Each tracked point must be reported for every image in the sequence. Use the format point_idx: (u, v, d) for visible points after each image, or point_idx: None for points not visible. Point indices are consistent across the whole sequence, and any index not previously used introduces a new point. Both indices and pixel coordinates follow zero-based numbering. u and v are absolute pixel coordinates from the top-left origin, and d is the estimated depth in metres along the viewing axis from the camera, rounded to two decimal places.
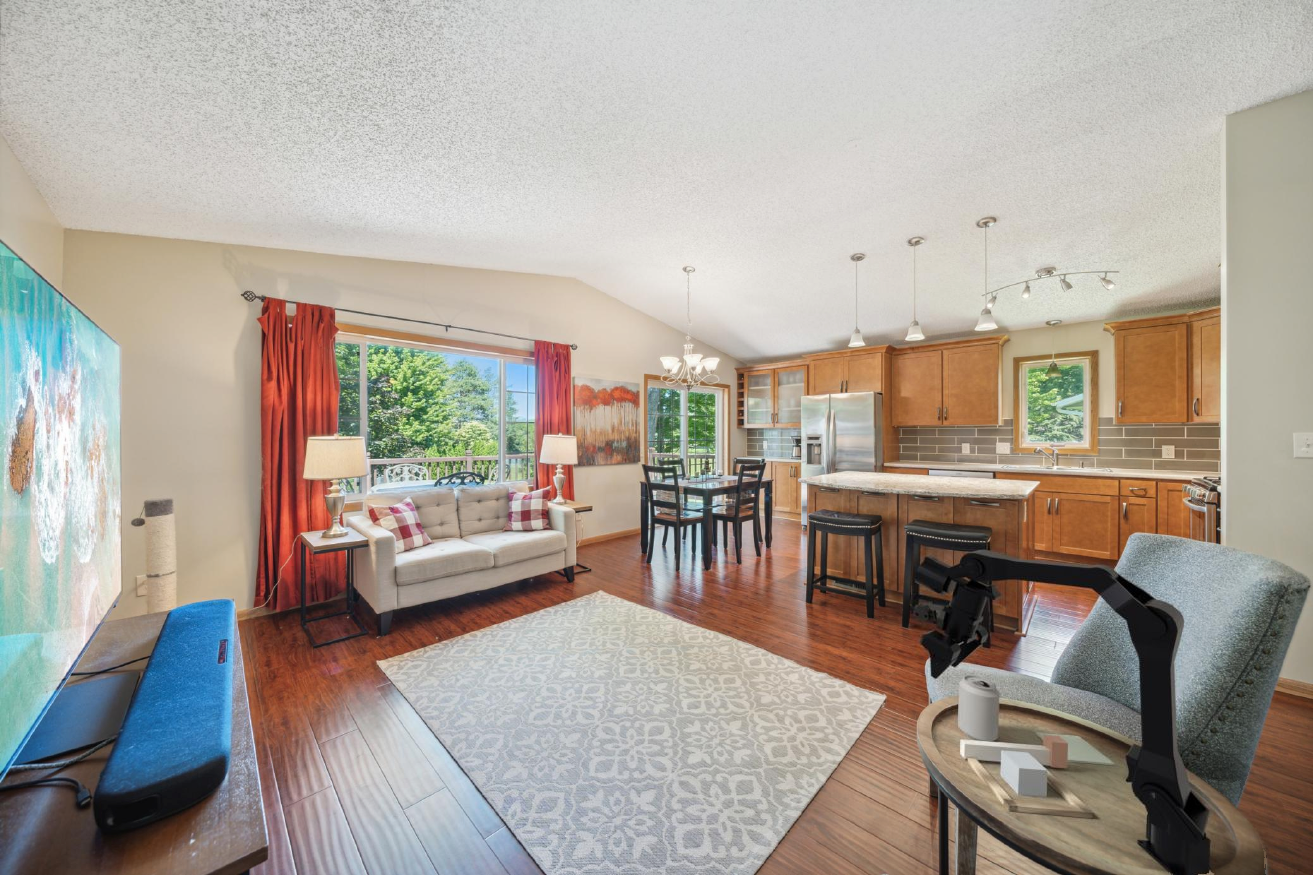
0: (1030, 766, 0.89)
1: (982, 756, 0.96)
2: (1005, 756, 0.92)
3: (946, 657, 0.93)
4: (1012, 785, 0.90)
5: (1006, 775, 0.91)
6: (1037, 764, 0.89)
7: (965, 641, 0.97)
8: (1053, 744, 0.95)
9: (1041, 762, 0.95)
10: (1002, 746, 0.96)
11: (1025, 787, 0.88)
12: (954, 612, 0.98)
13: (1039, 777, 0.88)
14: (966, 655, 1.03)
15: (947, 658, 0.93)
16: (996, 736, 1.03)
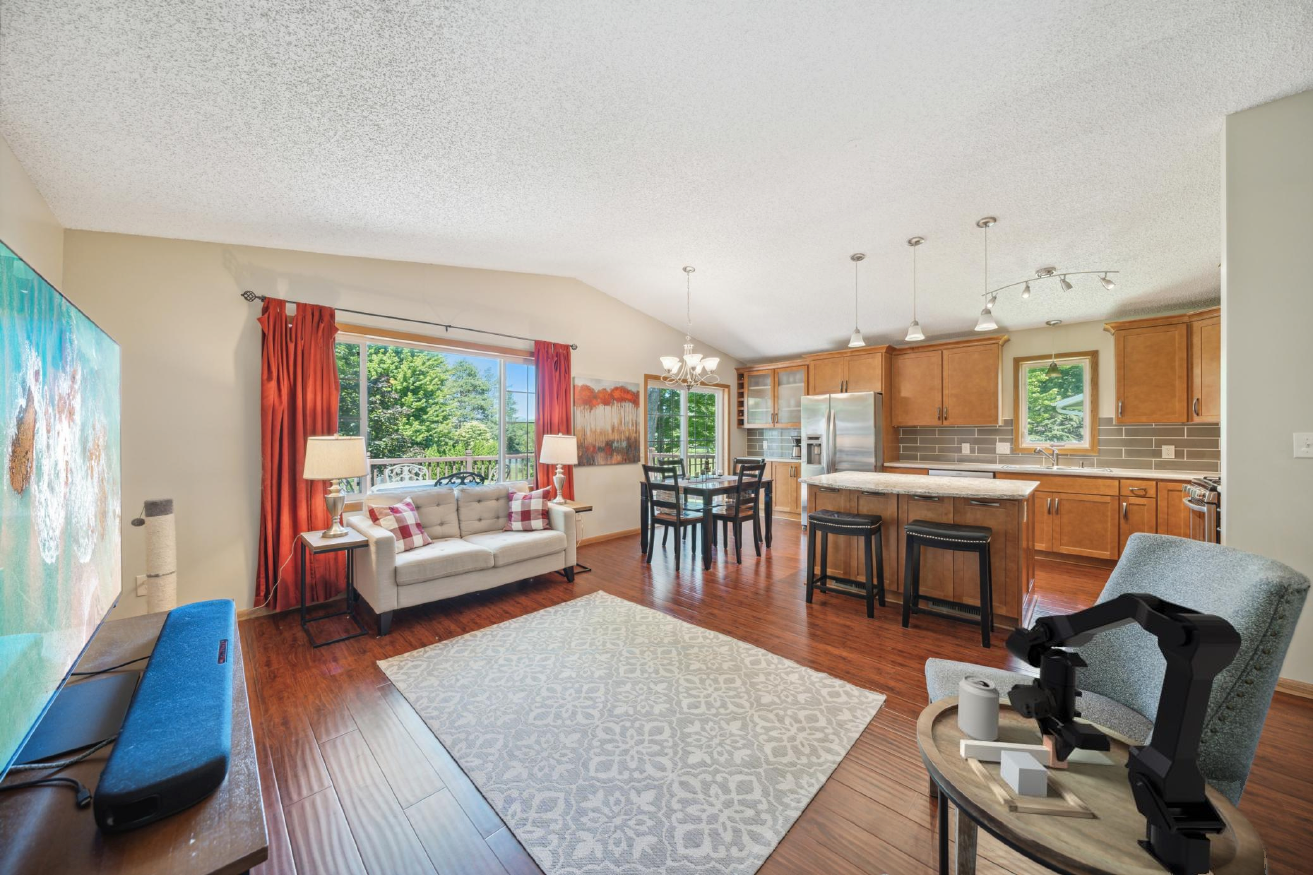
0: (1030, 766, 0.89)
1: (982, 756, 0.96)
2: (1005, 756, 0.92)
3: (1109, 748, 0.86)
4: (1012, 785, 0.90)
5: (1006, 775, 0.91)
6: (1037, 764, 0.89)
7: (1079, 716, 0.93)
8: (1053, 744, 0.95)
9: (1041, 762, 0.95)
10: (1002, 746, 0.96)
11: (1025, 787, 0.88)
12: (1064, 691, 0.93)
13: (1039, 777, 0.88)
14: None
15: (1109, 749, 0.87)
16: (996, 736, 1.03)
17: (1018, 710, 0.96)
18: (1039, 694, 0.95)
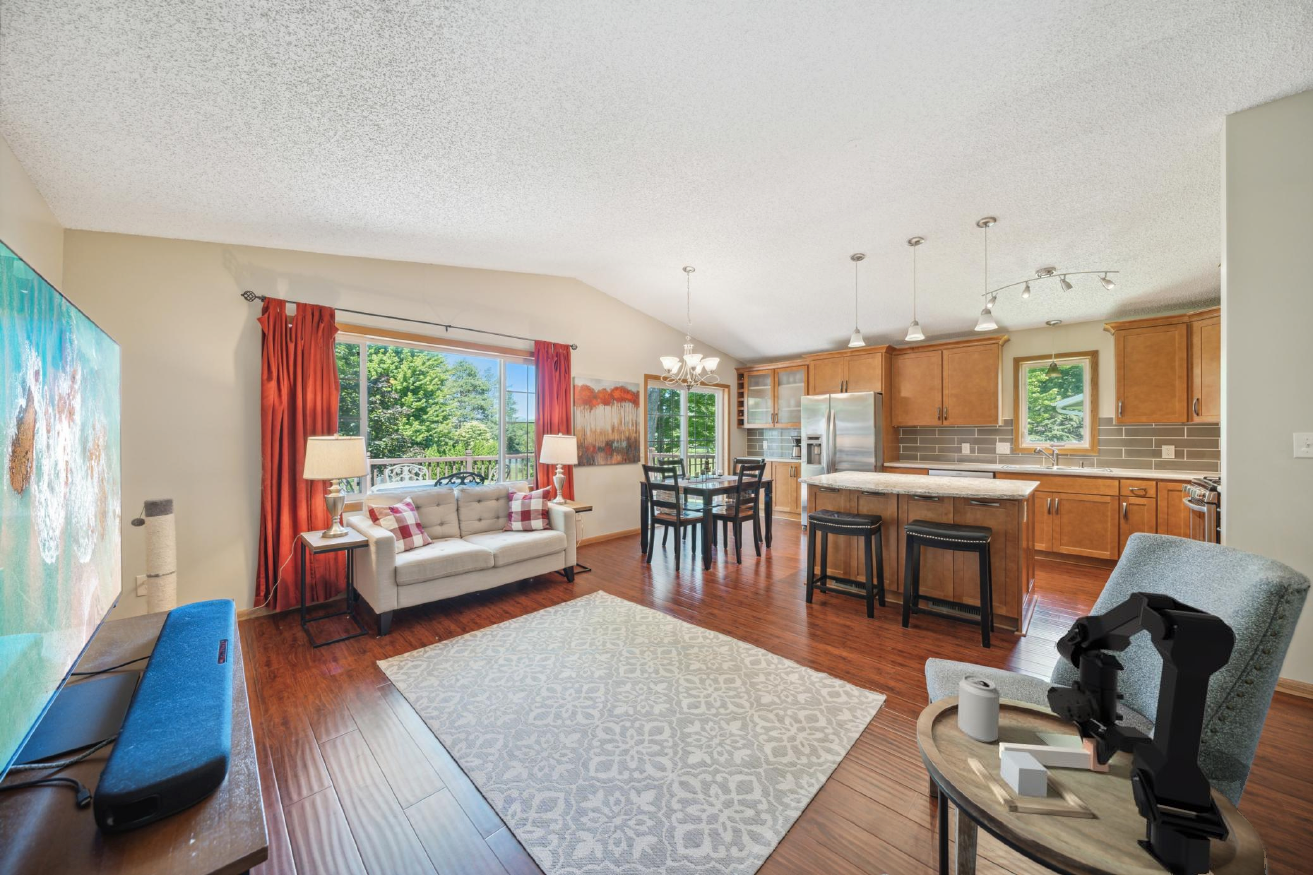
0: (1030, 766, 0.89)
1: None
2: (1005, 756, 0.92)
3: None
4: (1012, 785, 0.90)
5: (1006, 775, 0.91)
6: (1037, 764, 0.89)
7: (1121, 719, 0.93)
8: (1094, 747, 0.94)
9: (1082, 765, 0.95)
10: (1042, 749, 0.96)
11: (1025, 787, 0.88)
12: (1106, 694, 0.93)
13: (1039, 777, 0.88)
14: None
15: None
16: (996, 736, 1.03)
17: (1059, 713, 0.95)
18: (1080, 697, 0.95)
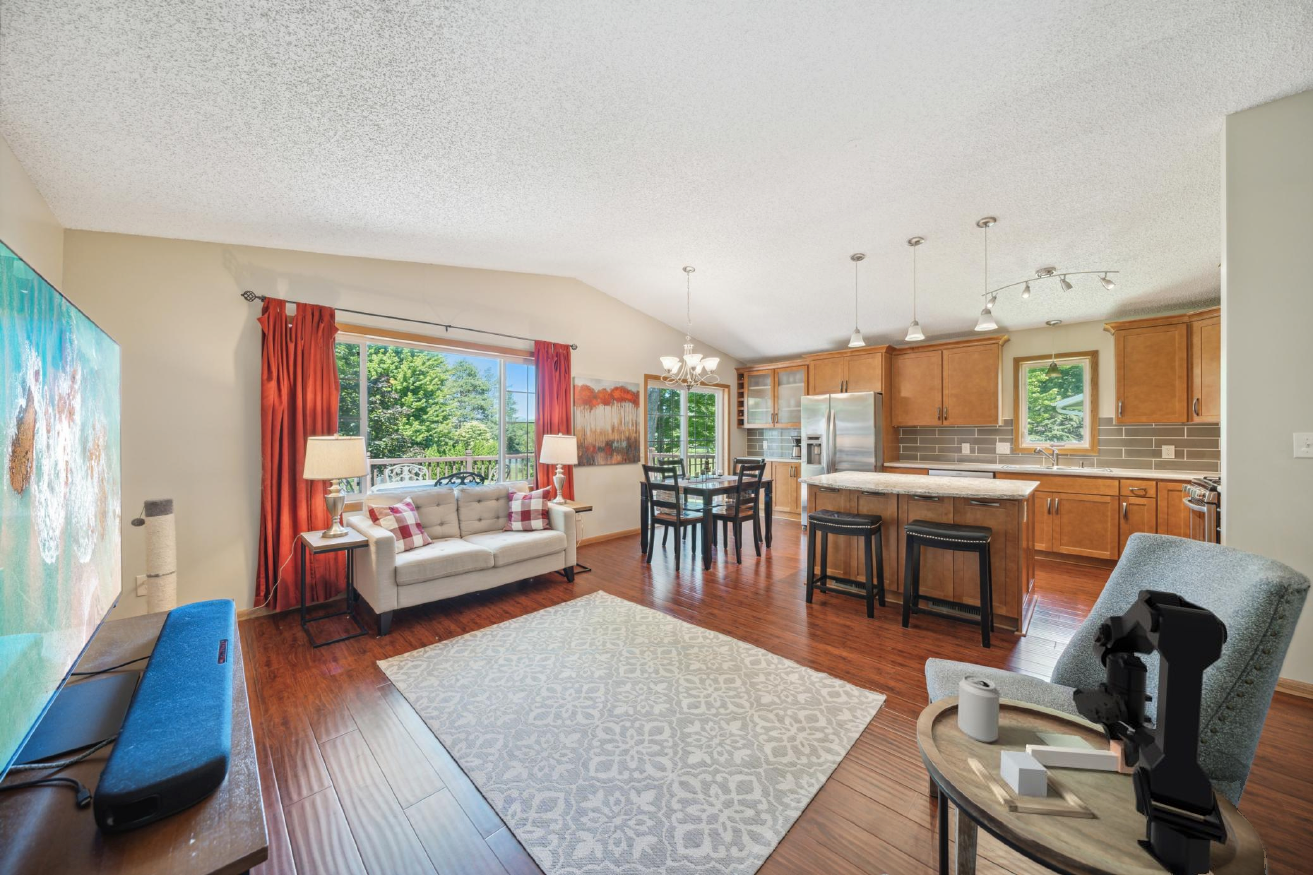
0: (1030, 766, 0.89)
1: (1049, 761, 0.95)
2: (1005, 756, 0.92)
3: None
4: (1012, 785, 0.90)
5: (1006, 775, 0.91)
6: (1037, 764, 0.89)
7: (1149, 721, 0.93)
8: (1122, 749, 0.94)
9: (1109, 767, 0.95)
10: (1070, 751, 0.95)
11: (1025, 787, 0.88)
12: (1134, 696, 0.92)
13: (1039, 777, 0.88)
14: None
15: None
16: (996, 736, 1.03)
17: (1086, 715, 0.95)
18: (1107, 699, 0.94)
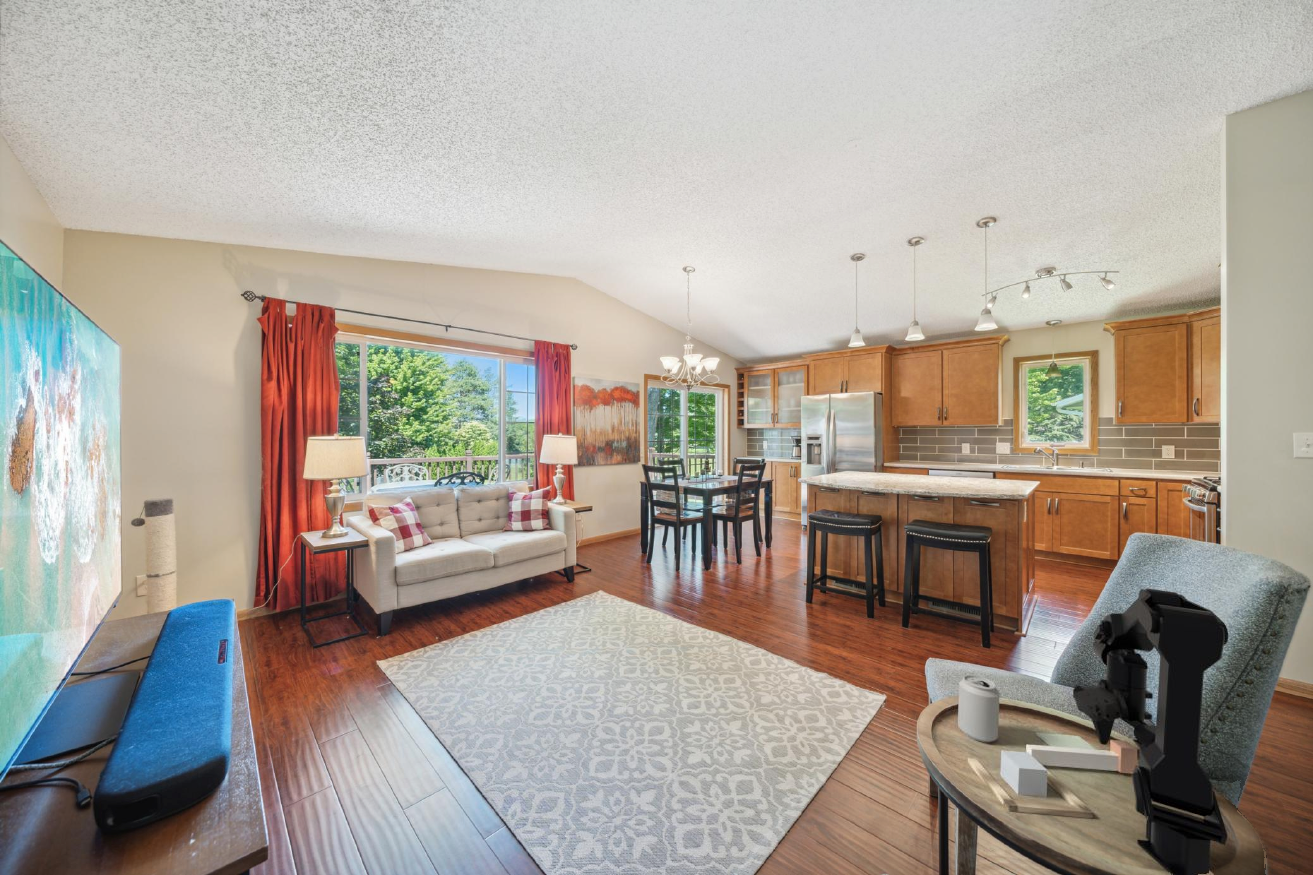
0: (1030, 766, 0.89)
1: (1049, 761, 0.95)
2: (1005, 756, 0.92)
3: None
4: (1012, 785, 0.90)
5: (1006, 775, 0.91)
6: (1037, 764, 0.89)
7: (1150, 718, 0.93)
8: (1122, 749, 0.94)
9: (1109, 767, 0.95)
10: (1070, 751, 0.95)
11: (1025, 787, 0.88)
12: (1134, 693, 0.92)
13: (1039, 777, 0.88)
14: (1111, 725, 1.00)
15: None
16: (996, 736, 1.03)
17: (1086, 712, 0.95)
18: (1108, 696, 0.94)
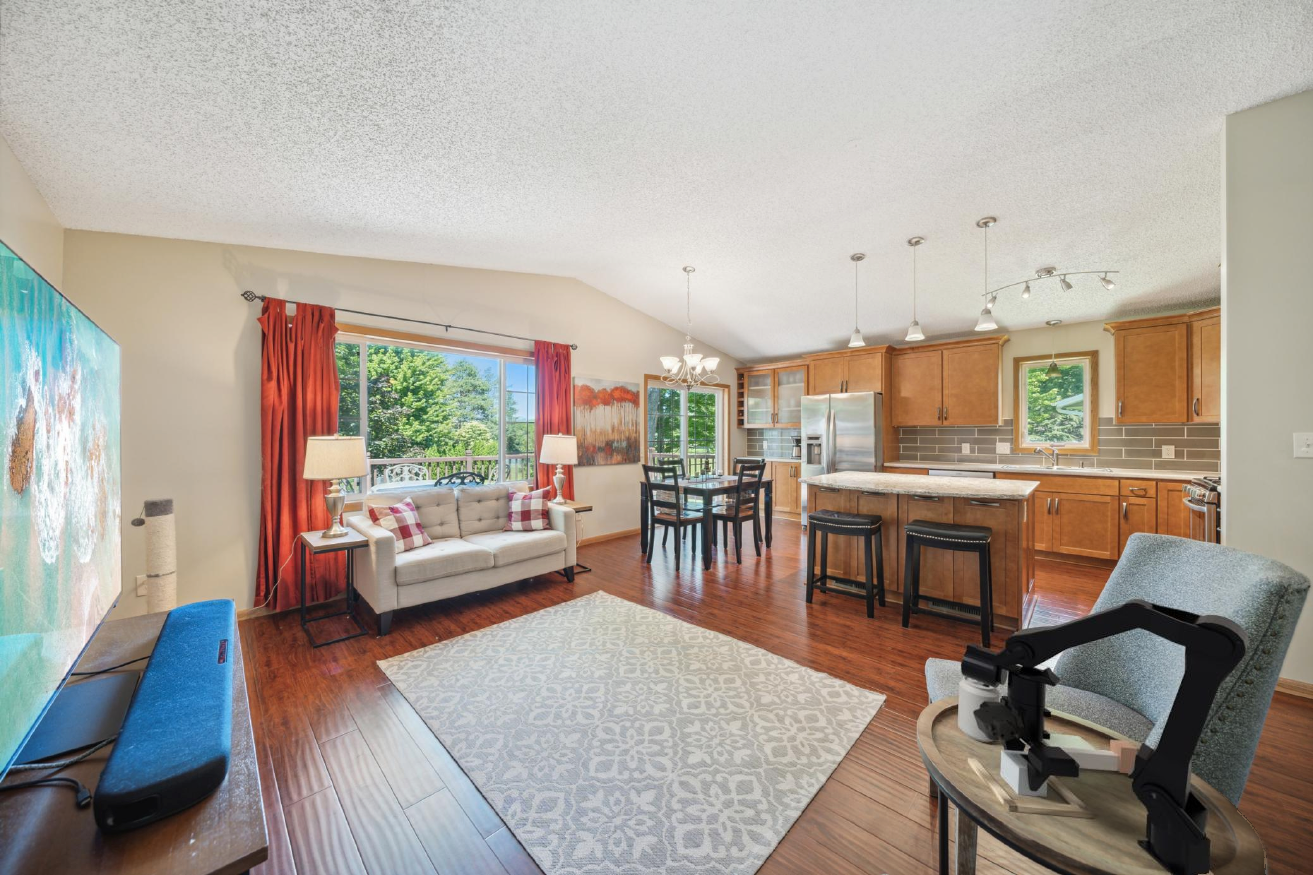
0: None
1: None
2: (1005, 756, 0.92)
3: (1077, 774, 0.81)
4: (1012, 785, 0.90)
5: (1006, 774, 0.91)
6: None
7: (1048, 737, 0.88)
8: (1122, 749, 0.94)
9: (1109, 767, 0.95)
10: (1070, 751, 0.95)
11: (1025, 786, 0.88)
12: (1032, 711, 0.88)
13: None
14: (1022, 750, 0.93)
15: (1078, 775, 0.81)
16: None
17: (984, 731, 0.90)
18: (1006, 714, 0.90)
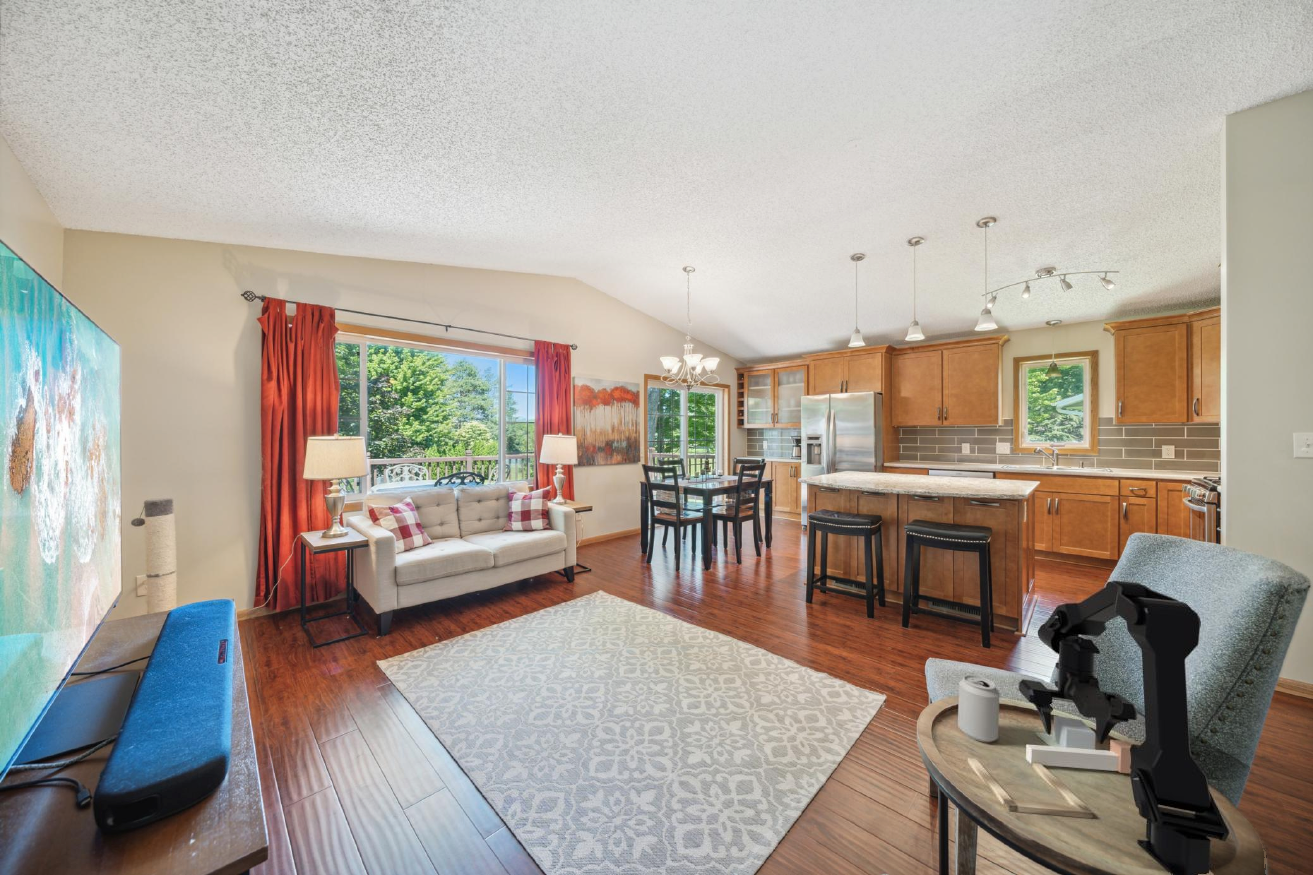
0: (1083, 725, 1.01)
1: (1049, 761, 0.95)
2: (1073, 731, 1.00)
3: None
4: None
5: (1076, 747, 1.00)
6: (1075, 720, 1.03)
7: None
8: (1122, 749, 0.94)
9: (1109, 767, 0.95)
10: (1070, 751, 0.95)
11: None
12: None
13: None
14: None
15: None
16: (996, 736, 1.03)
17: (1101, 716, 0.94)
18: (1092, 688, 0.98)
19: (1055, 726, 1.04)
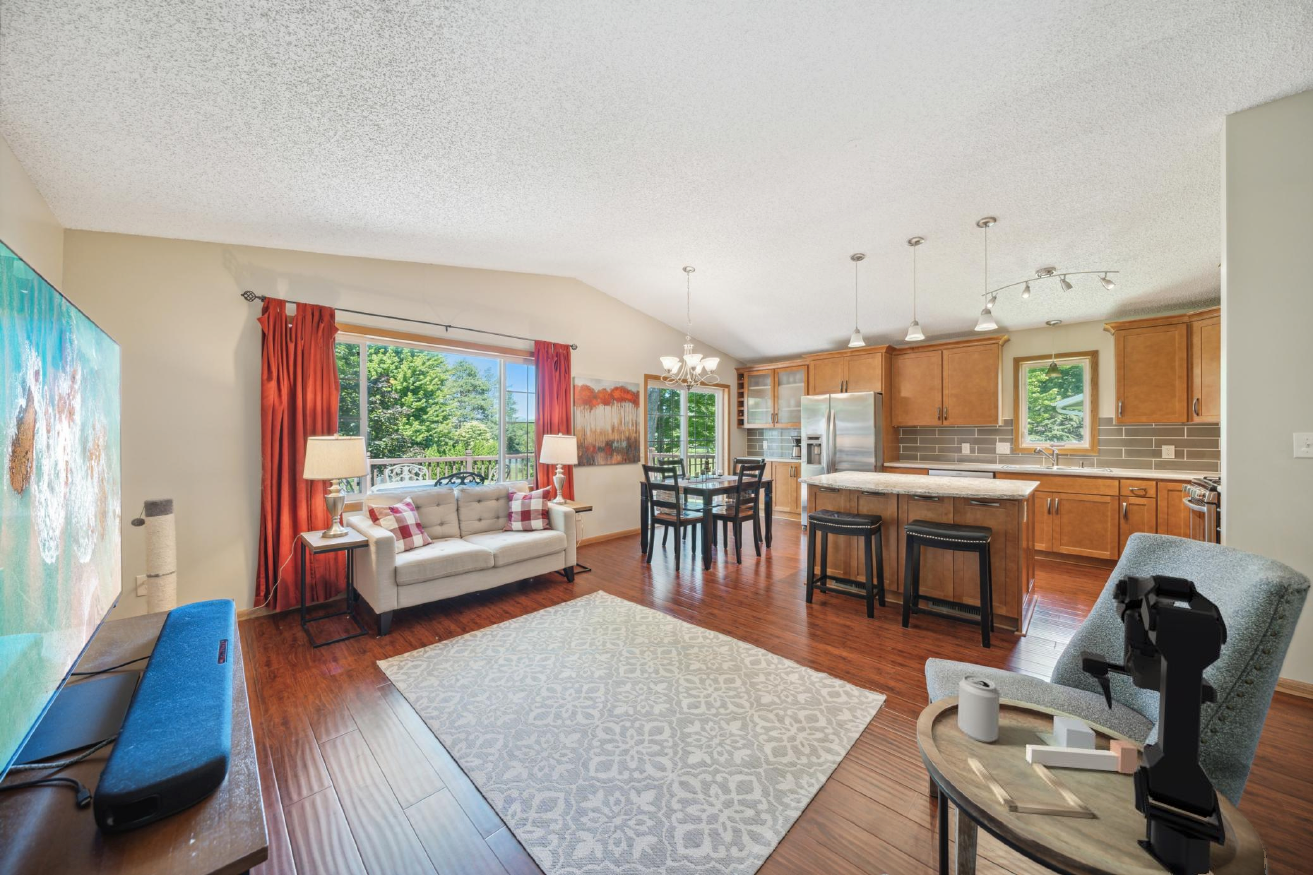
0: (1083, 725, 1.01)
1: (1049, 761, 0.95)
2: (1073, 731, 1.00)
3: None
4: None
5: (1076, 747, 1.00)
6: (1075, 720, 1.03)
7: None
8: (1122, 749, 0.94)
9: (1109, 767, 0.95)
10: (1070, 751, 0.95)
11: None
12: None
13: None
14: None
15: None
16: (996, 736, 1.03)
17: (1157, 688, 0.89)
18: (1155, 662, 0.91)
19: (1055, 726, 1.04)
